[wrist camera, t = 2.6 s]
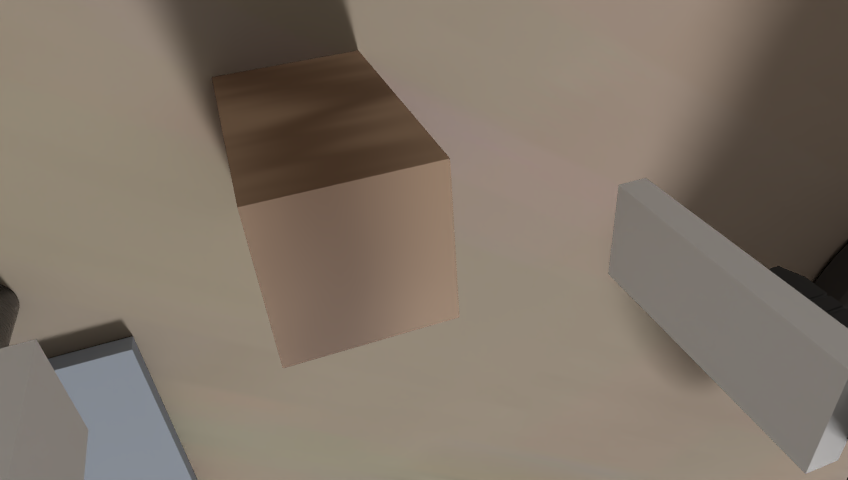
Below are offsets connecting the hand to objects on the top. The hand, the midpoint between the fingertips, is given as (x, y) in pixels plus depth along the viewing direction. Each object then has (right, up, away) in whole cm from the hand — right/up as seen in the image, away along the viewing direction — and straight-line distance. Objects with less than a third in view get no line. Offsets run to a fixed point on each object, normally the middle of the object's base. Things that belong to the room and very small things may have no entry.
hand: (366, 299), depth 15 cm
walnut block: (-3, +5, +9) cm, 11 cm away
